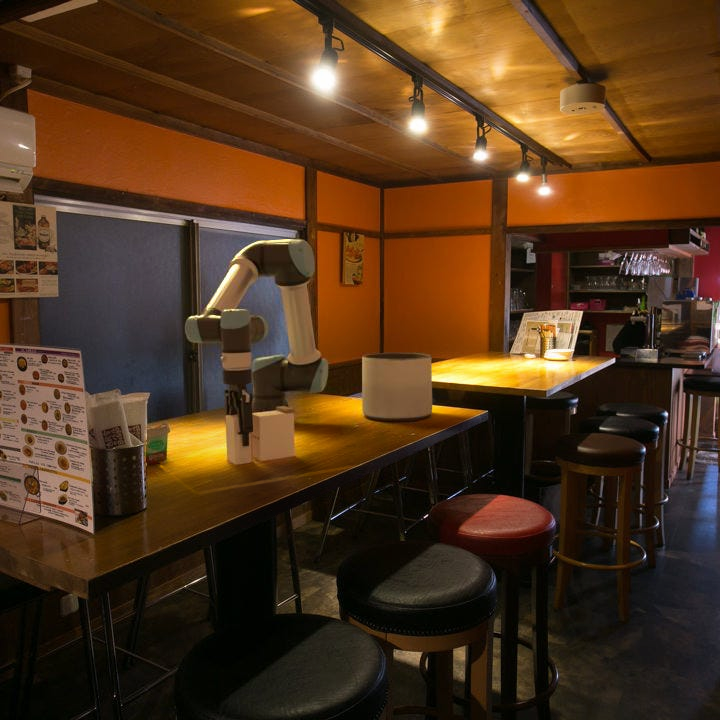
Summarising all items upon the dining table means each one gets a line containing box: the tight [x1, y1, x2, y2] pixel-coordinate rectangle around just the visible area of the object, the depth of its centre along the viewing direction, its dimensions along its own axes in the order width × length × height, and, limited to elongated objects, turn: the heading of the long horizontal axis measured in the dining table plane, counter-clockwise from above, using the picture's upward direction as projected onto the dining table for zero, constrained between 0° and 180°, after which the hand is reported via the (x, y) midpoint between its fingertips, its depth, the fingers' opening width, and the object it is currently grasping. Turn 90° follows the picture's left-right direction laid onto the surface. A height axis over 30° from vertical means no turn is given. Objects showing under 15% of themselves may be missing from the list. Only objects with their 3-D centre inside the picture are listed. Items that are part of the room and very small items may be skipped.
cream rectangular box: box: [252, 406, 296, 462], centre depth 181 cm, size 6×10×13 cm, turn 122°
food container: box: [146, 421, 171, 467], centre depth 178 cm, size 12×6×10 cm, turn 148°
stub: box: [225, 415, 254, 466], centre depth 176 cm, size 6×5×12 cm
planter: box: [361, 352, 433, 422], centre depth 242 cm, size 25×25×22 cm
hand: (239, 455), depth 176 cm, fingers closed on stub, 6 cm apart
